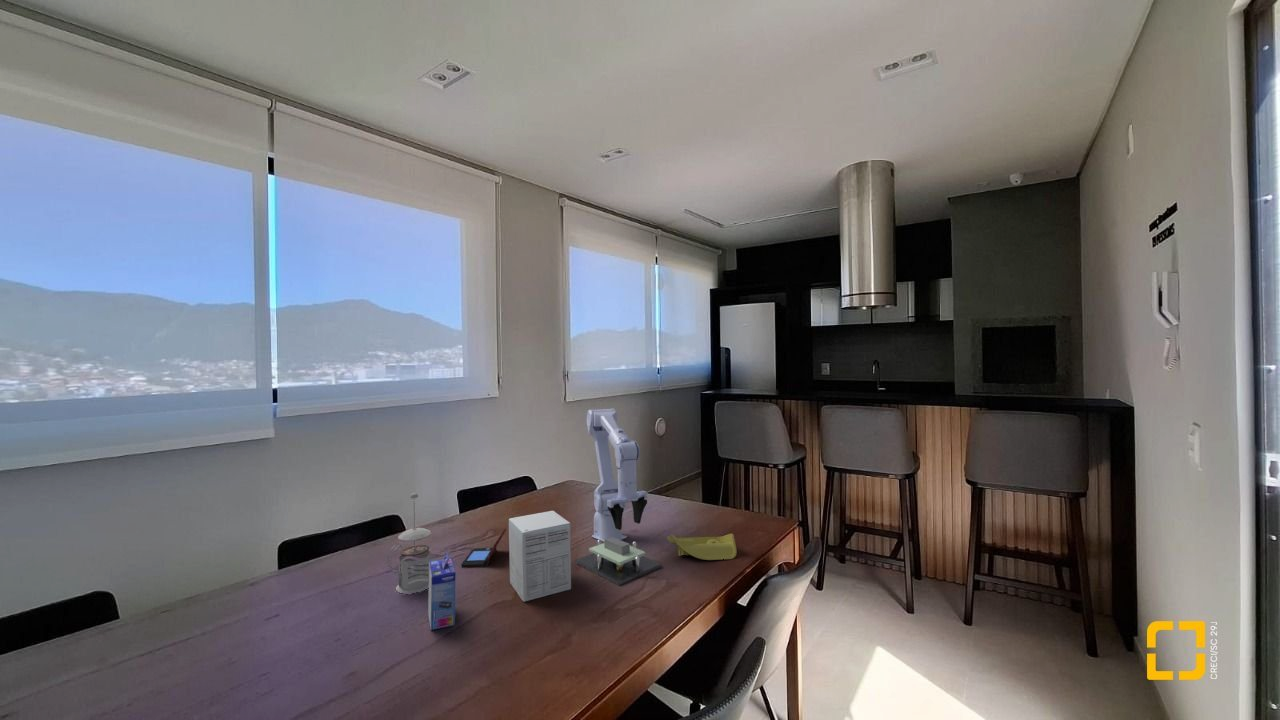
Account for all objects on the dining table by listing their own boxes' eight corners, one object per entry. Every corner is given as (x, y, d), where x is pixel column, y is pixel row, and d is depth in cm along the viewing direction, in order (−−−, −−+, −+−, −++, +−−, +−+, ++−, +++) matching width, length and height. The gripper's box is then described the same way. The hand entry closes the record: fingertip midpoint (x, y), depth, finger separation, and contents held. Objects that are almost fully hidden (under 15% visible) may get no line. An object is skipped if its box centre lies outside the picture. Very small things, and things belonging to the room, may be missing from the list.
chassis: (575, 563, 140) (575, 546, 140) (616, 548, 151) (616, 532, 151) (619, 585, 125) (618, 566, 125) (661, 567, 136) (661, 549, 136)
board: (589, 551, 140) (588, 539, 140) (614, 541, 147) (614, 531, 147) (619, 565, 130) (619, 553, 130) (645, 554, 136) (645, 543, 136)
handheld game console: (473, 552, 150) (472, 528, 151) (507, 550, 151) (506, 527, 151) (459, 568, 138) (459, 543, 138) (497, 567, 138) (496, 542, 139)
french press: (441, 584, 127) (440, 492, 128) (395, 601, 119) (394, 502, 119) (426, 574, 134) (424, 486, 134) (382, 588, 126) (380, 495, 126)
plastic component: (722, 536, 153) (734, 532, 144) (725, 561, 150) (738, 558, 141) (663, 538, 148) (673, 534, 140) (665, 563, 145) (675, 561, 137)
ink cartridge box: (457, 625, 107) (456, 561, 107) (430, 632, 105) (429, 566, 105) (452, 606, 116) (451, 547, 116) (428, 611, 114) (427, 551, 114)
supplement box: (572, 589, 124) (571, 522, 124) (523, 603, 117) (522, 532, 117) (554, 570, 135) (553, 509, 135) (508, 582, 128) (507, 518, 128)
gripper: (617, 488, 136) (617, 535, 136) (653, 479, 146) (654, 523, 146) (602, 484, 142) (603, 529, 142) (638, 475, 151) (638, 517, 151)
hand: (627, 525), depth 144 cm, fingers open, 7 cm apart
